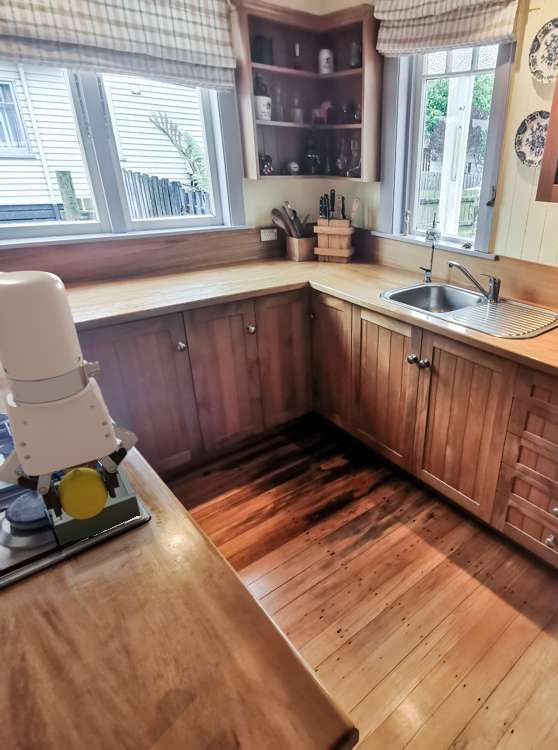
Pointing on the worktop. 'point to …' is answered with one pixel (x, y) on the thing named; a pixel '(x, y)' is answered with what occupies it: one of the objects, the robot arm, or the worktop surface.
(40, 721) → the worktop surface
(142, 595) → the worktop surface
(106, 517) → the grey green square tray
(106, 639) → the worktop surface
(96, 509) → the lemon
